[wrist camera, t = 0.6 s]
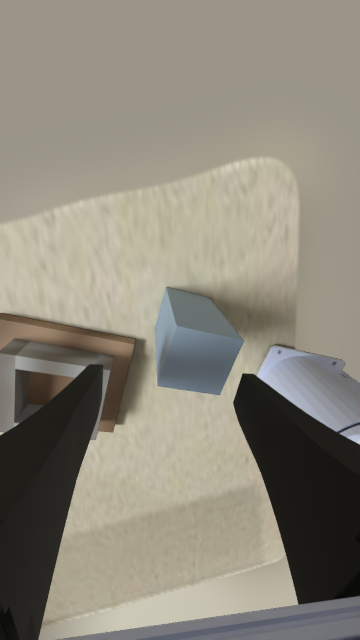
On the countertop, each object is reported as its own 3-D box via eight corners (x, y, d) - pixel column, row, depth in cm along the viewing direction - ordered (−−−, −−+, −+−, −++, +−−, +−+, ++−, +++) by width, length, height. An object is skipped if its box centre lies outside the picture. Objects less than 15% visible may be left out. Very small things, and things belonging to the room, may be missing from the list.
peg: (208, 297, 20) (244, 340, 12) (195, 336, 21) (219, 395, 14) (166, 286, 19) (176, 325, 11) (154, 327, 20) (157, 386, 13)
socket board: (135, 339, 20) (132, 358, 17) (114, 424, 24) (109, 452, 21) (0, 313, 18) (-29, 330, 15) (1, 413, 22) (-22, 442, 19)
